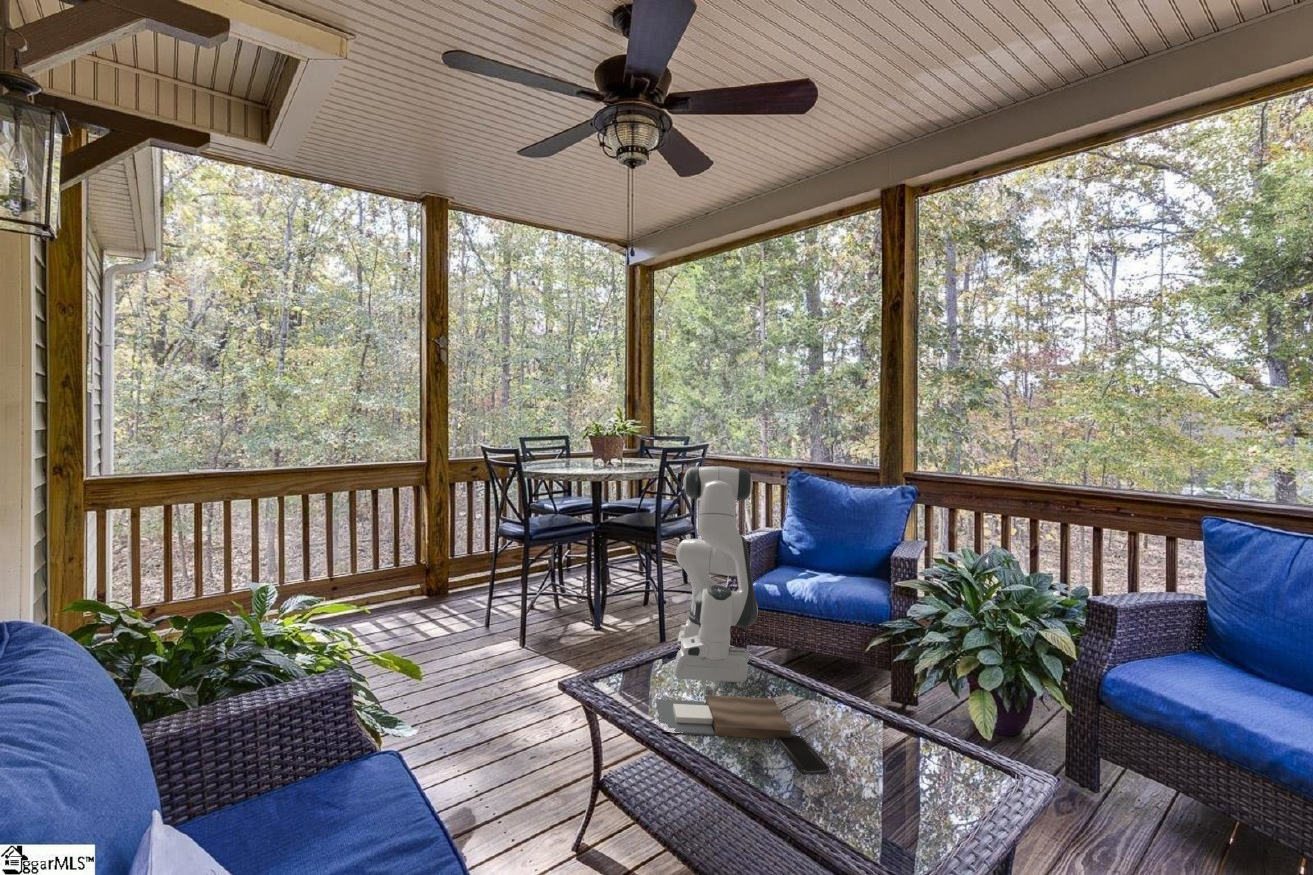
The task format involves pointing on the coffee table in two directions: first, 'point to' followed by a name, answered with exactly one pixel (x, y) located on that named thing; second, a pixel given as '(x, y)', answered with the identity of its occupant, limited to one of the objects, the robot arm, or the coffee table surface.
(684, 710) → the tile
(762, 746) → the coffee table surface
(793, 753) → the phone
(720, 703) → the wooden board
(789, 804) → the coffee table surface
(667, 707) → the mat
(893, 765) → the coffee table surface
